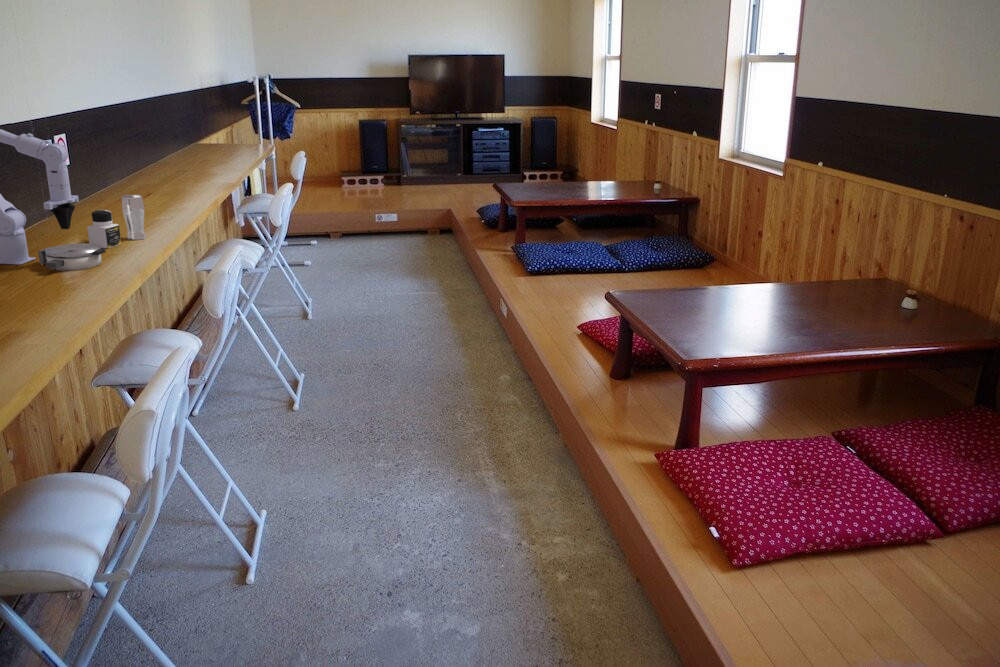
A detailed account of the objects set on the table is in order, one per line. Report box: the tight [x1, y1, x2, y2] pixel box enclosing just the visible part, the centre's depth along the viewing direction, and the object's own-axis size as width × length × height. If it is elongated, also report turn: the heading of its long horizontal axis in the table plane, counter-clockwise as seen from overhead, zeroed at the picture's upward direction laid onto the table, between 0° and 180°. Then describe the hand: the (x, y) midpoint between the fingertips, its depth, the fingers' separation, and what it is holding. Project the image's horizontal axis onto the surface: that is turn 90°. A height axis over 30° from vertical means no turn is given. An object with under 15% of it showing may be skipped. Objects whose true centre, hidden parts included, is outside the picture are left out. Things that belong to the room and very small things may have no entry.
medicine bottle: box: [86, 209, 122, 249], centre depth 267 cm, size 7×7×12 cm
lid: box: [43, 242, 106, 258], centre depth 244 cm, size 17×15×1 cm
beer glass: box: [121, 194, 147, 241], centre depth 278 cm, size 7×7×15 cm
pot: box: [37, 246, 103, 271], centre depth 244 cm, size 17×23×4 cm
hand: (65, 228), depth 245 cm, fingers closed
